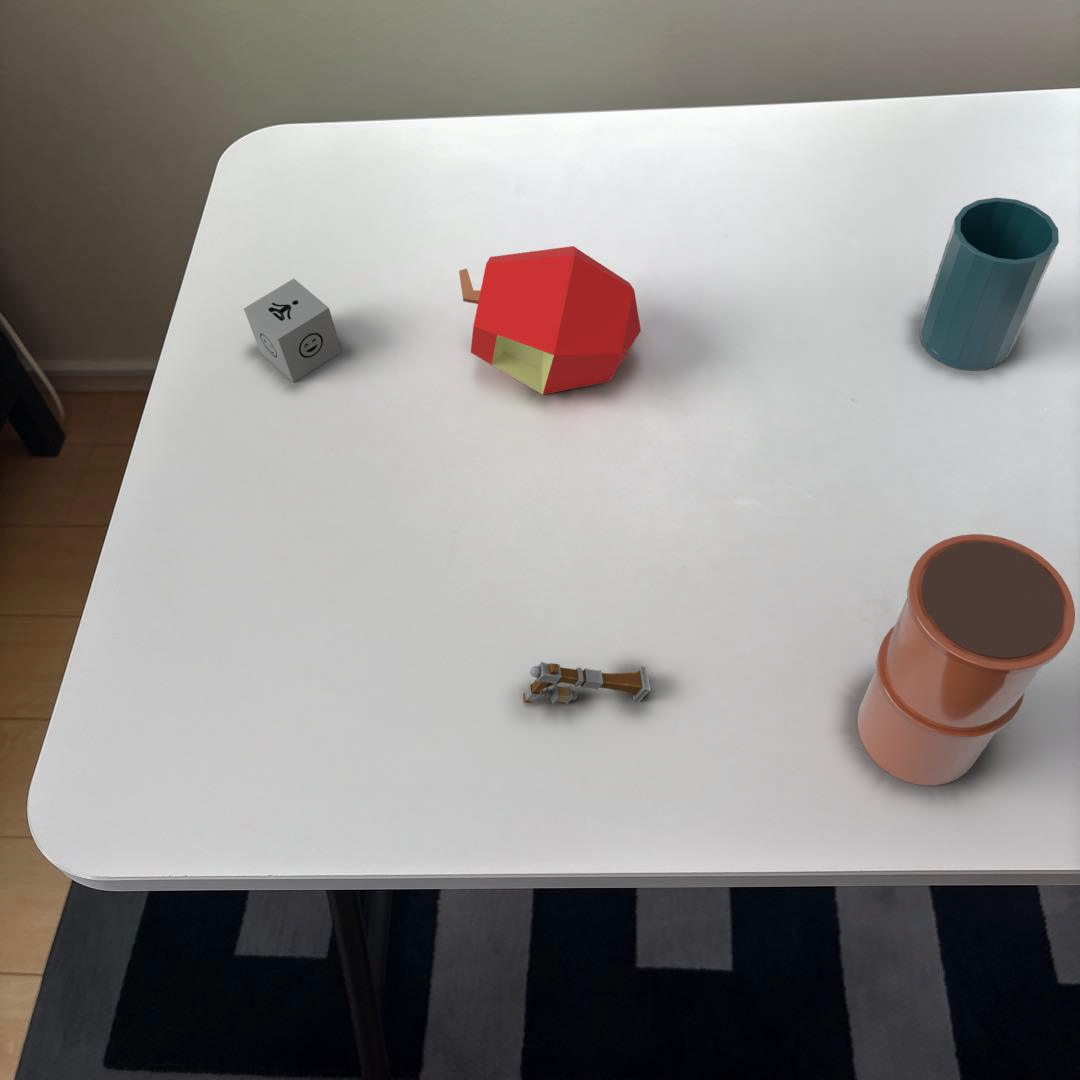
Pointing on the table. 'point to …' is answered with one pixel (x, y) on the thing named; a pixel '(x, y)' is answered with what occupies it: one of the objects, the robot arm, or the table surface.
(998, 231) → the cup
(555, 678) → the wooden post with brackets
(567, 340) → the apple
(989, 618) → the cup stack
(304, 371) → the dice cube
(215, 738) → the table surface
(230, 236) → the table surface
